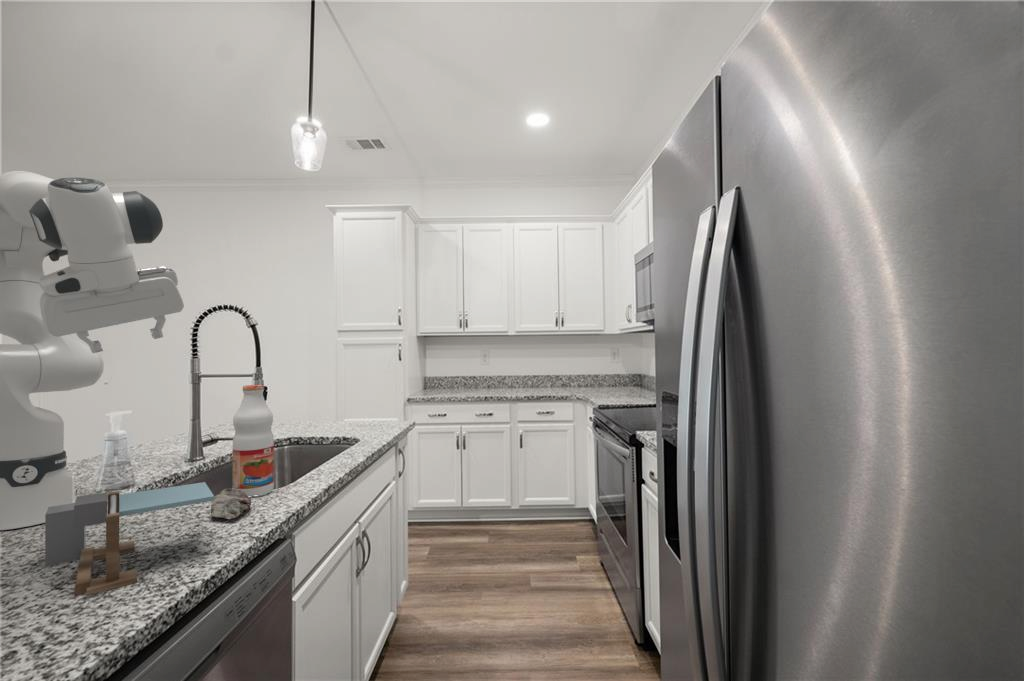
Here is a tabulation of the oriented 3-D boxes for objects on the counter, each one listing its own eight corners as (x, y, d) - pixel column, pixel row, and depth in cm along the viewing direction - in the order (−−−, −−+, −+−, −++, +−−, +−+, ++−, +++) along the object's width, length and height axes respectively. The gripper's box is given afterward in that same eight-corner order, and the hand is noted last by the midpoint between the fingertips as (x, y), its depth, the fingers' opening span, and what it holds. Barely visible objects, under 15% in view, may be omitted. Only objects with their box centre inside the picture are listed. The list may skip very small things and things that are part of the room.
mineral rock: (241, 523, 100) (241, 502, 100) (199, 527, 98) (199, 506, 98) (260, 501, 114) (260, 483, 114) (223, 504, 112) (223, 486, 112)
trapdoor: (77, 512, 82) (78, 492, 82) (204, 492, 94) (204, 474, 94) (71, 534, 72) (72, 511, 72) (214, 509, 84) (214, 489, 84)
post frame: (82, 555, 84) (82, 495, 84) (134, 544, 89) (134, 487, 89) (74, 598, 70) (75, 525, 70) (137, 582, 74) (137, 513, 74)
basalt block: (48, 556, 84) (48, 507, 84) (85, 548, 87) (85, 500, 87) (45, 566, 80) (45, 514, 80) (84, 557, 84) (84, 507, 84)
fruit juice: (256, 486, 126) (256, 383, 127) (282, 489, 123) (281, 384, 123) (223, 496, 118) (223, 386, 118) (249, 500, 114) (249, 387, 115)
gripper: (168, 261, 93) (185, 326, 98) (26, 280, 78) (54, 355, 83) (179, 267, 89) (195, 334, 94) (32, 288, 74) (61, 365, 80)
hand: (128, 344), depth 89 cm, fingers open, 8 cm apart
